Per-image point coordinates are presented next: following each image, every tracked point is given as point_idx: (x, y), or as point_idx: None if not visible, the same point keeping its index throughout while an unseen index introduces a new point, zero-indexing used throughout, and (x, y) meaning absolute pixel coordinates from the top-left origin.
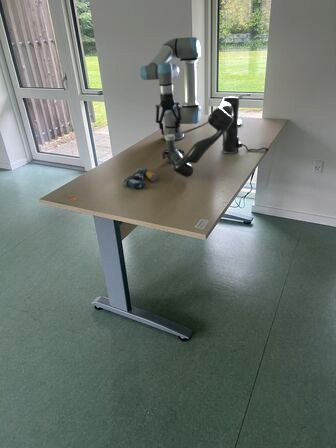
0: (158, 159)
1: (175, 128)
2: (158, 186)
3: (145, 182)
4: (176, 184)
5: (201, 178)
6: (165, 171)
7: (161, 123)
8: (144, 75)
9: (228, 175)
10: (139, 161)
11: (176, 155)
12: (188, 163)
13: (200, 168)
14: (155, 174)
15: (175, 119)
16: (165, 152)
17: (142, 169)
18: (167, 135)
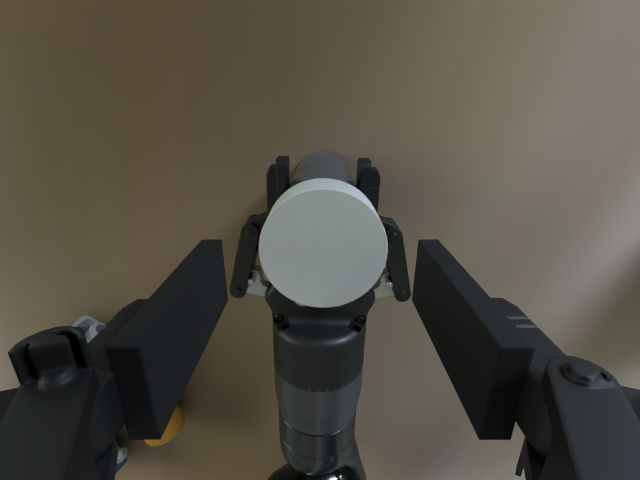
0: (232, 109)
1: (433, 299)
2: (192, 455)
3: (126, 455)
4: (270, 463)
5: (389, 452)
6: (247, 328)
7: (123, 422)
8: None
9: (507, 465)
10: (79, 84)
11: (307, 430)
12: (355, 474)
13: (436, 362)
14: (172, 437)
15: (547, 397)
16: None
17: None
18: (293, 237)
